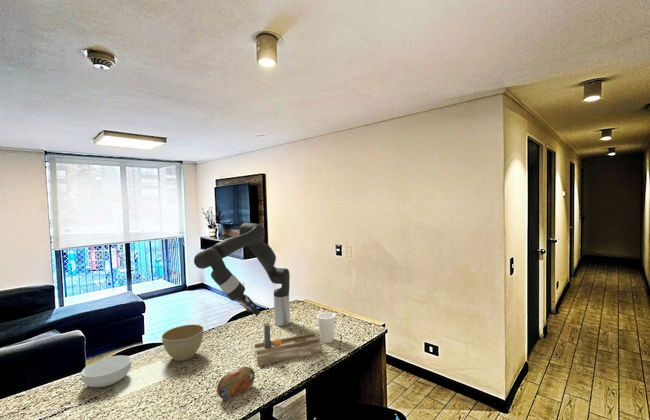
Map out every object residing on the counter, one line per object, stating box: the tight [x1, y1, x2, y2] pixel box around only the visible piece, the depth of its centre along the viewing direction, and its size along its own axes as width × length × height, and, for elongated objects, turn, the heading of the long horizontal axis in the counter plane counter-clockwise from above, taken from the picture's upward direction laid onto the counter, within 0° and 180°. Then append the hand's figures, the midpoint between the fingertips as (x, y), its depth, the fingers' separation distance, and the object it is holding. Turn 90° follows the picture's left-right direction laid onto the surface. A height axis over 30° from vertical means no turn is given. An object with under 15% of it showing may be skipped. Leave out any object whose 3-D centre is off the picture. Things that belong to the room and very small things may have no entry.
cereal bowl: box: [80, 354, 132, 388], centre depth 126 cm, size 17×17×7 cm
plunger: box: [263, 322, 272, 349], centre depth 142 cm, size 4×3×11 cm
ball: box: [272, 337, 281, 347], centre depth 144 cm, size 4×4×4 cm
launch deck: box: [253, 332, 322, 366], centre depth 146 cm, size 12×30×6 cm, turn 110°
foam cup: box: [316, 311, 336, 344], centre depth 158 cm, size 10×9×13 cm
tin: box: [216, 366, 256, 401], centre depth 116 cm, size 15×3×8 cm, turn 137°
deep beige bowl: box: [161, 324, 204, 362], centre depth 145 cm, size 18×18×12 cm
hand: (254, 312), depth 135 cm, fingers open, 8 cm apart
